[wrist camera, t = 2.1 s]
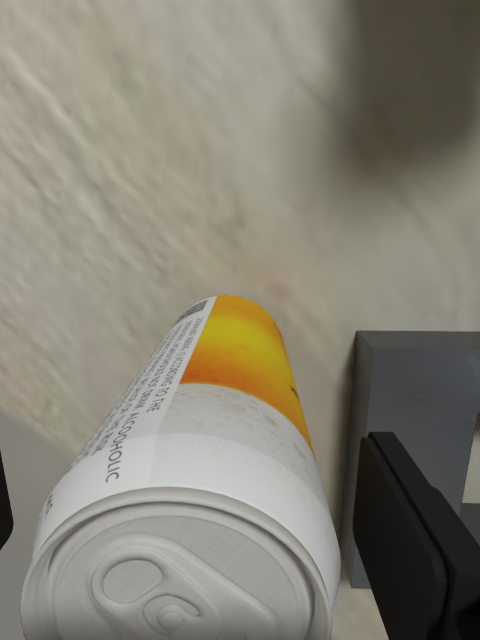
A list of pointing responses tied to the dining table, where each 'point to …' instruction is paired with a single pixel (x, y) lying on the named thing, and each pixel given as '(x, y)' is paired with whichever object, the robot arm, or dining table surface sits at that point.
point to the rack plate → (414, 416)
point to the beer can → (192, 501)
